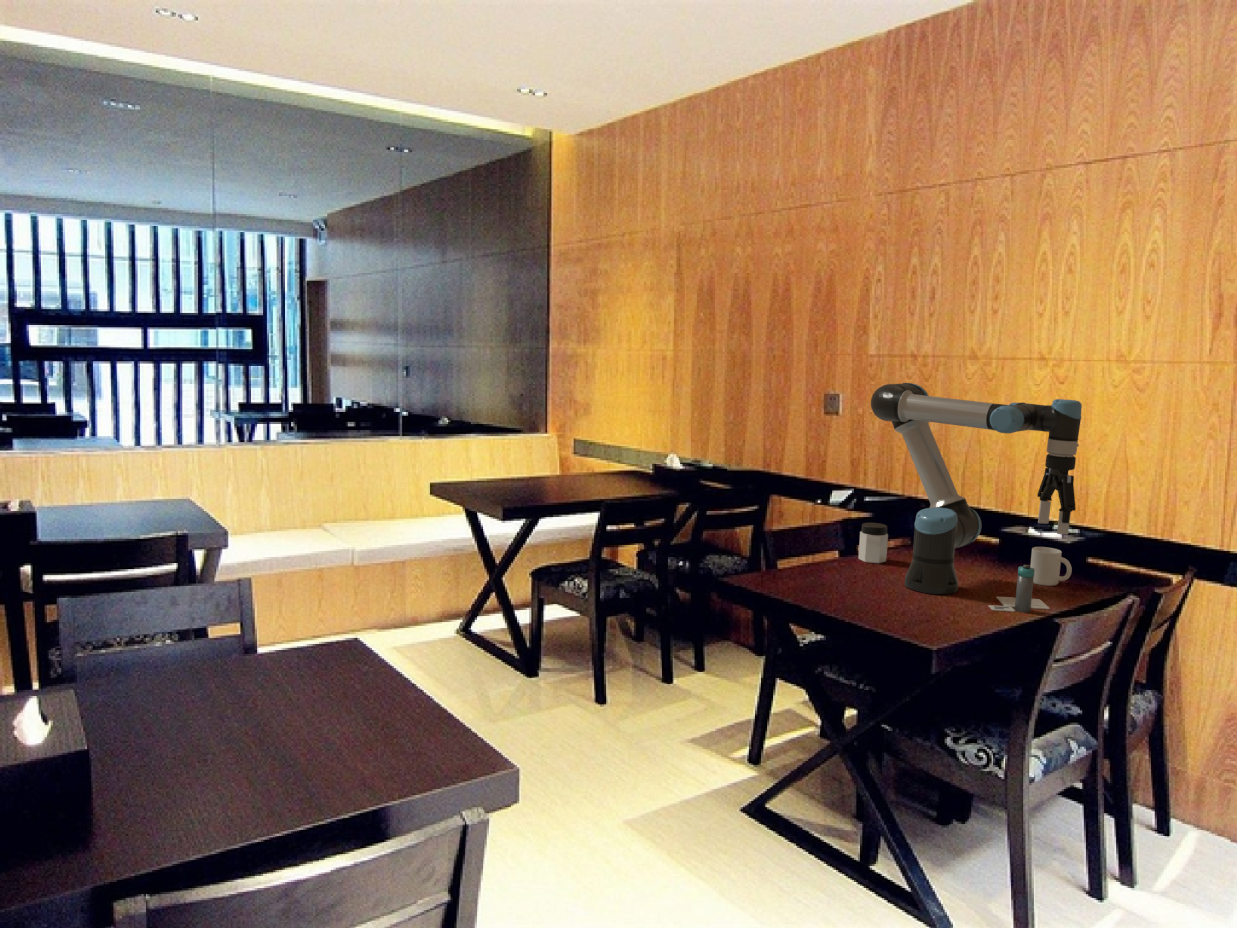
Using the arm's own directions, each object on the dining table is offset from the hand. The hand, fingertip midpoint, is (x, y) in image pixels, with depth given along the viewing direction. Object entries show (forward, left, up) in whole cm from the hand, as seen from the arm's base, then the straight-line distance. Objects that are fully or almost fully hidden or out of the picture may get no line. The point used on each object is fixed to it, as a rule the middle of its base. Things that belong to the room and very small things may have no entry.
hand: (1052, 528), depth 256 cm
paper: (-8, -4, -21) cm, 23 cm away
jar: (-44, +37, -22) cm, 61 cm away
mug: (+7, +20, -22) cm, 30 cm away
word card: (-15, -11, -21) cm, 28 cm away
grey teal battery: (-10, -11, -21) cm, 26 cm away
